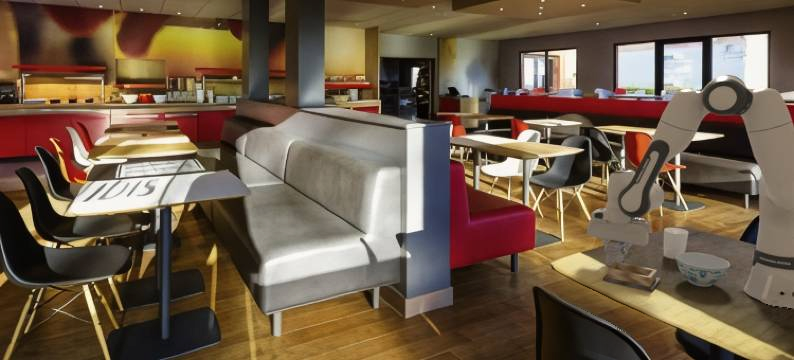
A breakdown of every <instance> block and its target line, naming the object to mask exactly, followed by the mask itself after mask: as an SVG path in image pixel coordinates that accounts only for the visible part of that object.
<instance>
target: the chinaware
mask: <svg viewBox="0 0 794 360" xmlns="http://www.w3.org/2000/svg"><path fill="white" fill-rule="evenodd" d="M675 261H676V264H677V268H678V270H679V271H680V273H681V274H682V275H683V276H684V277H685V278H686V279H687V281H688V282H689V284H691V285H694V286H697V287H702V288H703V287H705V288H706V287H711V286H712V285H713V284H714V283H717V282H719V281H720V280H722V279H723V278H724V277H725V276H726V275H727V273H728V271H729V269H730V266H731V264H730V262H729V261H728V260H726V259H724V258H722V257H719V256H717V255H712V254H709V253H703V252H702V253H701V252H685V253H680V254H678V255H677V256H676V259H675Z"/></svg>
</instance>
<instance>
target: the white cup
mask: <svg viewBox="0 0 794 360" xmlns="http://www.w3.org/2000/svg"><path fill="white" fill-rule="evenodd" d="M663 229H664V230H663V257H664V258H667V259H672V260H676V256H677V255H678V254H680V253H686V249H687V244H688V237H689V231H688V230H687V229H683V228H680V227H679V228H678V227H665V228H663Z"/></svg>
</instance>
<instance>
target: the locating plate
mask: <svg viewBox="0 0 794 360" xmlns="http://www.w3.org/2000/svg"><path fill="white" fill-rule="evenodd" d="M657 272H658V269H656V268H655V269H653V268H649V267H645V266H639V265H635V264H629V263H626V262H623V263H621V262H614V263H613V264H612V265H611V266H609V267H608V268H607V273H606V274H605V275H604V276H603V277H602V282H607V283H612V284H616V285H621V286H625V287H628V288H634V289H636V290H637V289H638V290H641V291H646V292H651V293H653V291H654V290H655V288H656V287H657V286H658V285H659V283H660V282H661V277H657V275H658V274H657Z"/></svg>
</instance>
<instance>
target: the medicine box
mask: <svg viewBox="0 0 794 360" xmlns="http://www.w3.org/2000/svg"><path fill="white" fill-rule="evenodd" d="M623 248H624V249H626V243H623V242H618V241H612V240H608V241H607V251H605V252H606V256H605V265H606V266H609V267H610V266H611V265H612V264H613V263H614V262H621V263H625V256H626V255H623V254H622V249H623Z"/></svg>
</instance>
